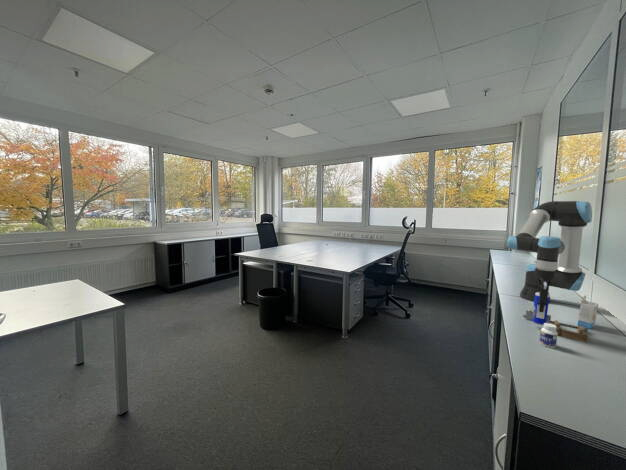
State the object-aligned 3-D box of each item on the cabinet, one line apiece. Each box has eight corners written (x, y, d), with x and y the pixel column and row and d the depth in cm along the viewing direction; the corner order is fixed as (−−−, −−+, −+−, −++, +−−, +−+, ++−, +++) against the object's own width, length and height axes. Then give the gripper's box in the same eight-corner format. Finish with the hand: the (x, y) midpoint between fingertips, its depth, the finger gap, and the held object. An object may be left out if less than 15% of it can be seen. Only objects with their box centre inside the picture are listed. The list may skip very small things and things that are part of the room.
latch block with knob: (525, 317, 136) (526, 308, 136) (549, 322, 131) (550, 313, 130) (525, 318, 135) (526, 309, 134) (549, 324, 129) (551, 314, 128)
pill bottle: (536, 342, 110) (538, 323, 109) (543, 340, 112) (545, 321, 111) (551, 349, 105) (554, 328, 105) (558, 346, 108) (561, 326, 107)
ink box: (591, 329, 125) (596, 300, 124) (577, 325, 129) (581, 297, 128) (595, 325, 130) (599, 297, 128) (581, 321, 134) (585, 294, 132)
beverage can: (532, 319, 128) (535, 291, 126) (546, 323, 124) (550, 293, 123) (531, 323, 124) (534, 293, 123) (545, 326, 121) (549, 296, 119)
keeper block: (523, 316, 138) (523, 311, 138) (585, 330, 124) (585, 324, 124) (524, 327, 125) (525, 321, 125) (594, 344, 111) (595, 337, 110)
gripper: (533, 264, 131) (528, 308, 133) (536, 271, 116) (530, 320, 119) (553, 266, 126) (547, 312, 129) (559, 274, 112) (552, 324, 115)
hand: (539, 315), depth 124 cm, fingers closed on beverage can, 5 cm apart
